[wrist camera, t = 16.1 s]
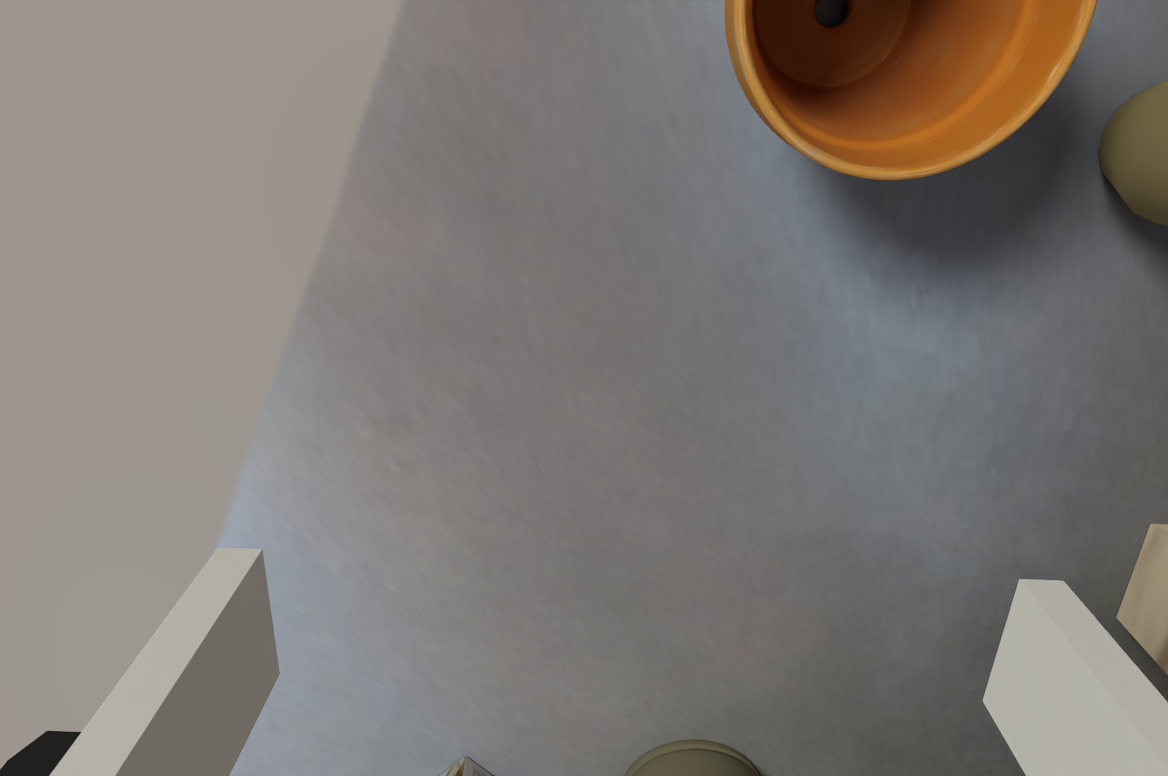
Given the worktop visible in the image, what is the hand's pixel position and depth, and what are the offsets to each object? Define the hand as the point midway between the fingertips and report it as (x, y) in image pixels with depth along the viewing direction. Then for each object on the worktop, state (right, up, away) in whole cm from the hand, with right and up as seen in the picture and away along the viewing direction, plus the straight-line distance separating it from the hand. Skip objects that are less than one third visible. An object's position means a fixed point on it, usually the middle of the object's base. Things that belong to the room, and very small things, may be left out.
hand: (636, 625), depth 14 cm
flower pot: (+12, +25, +29) cm, 40 cm away
